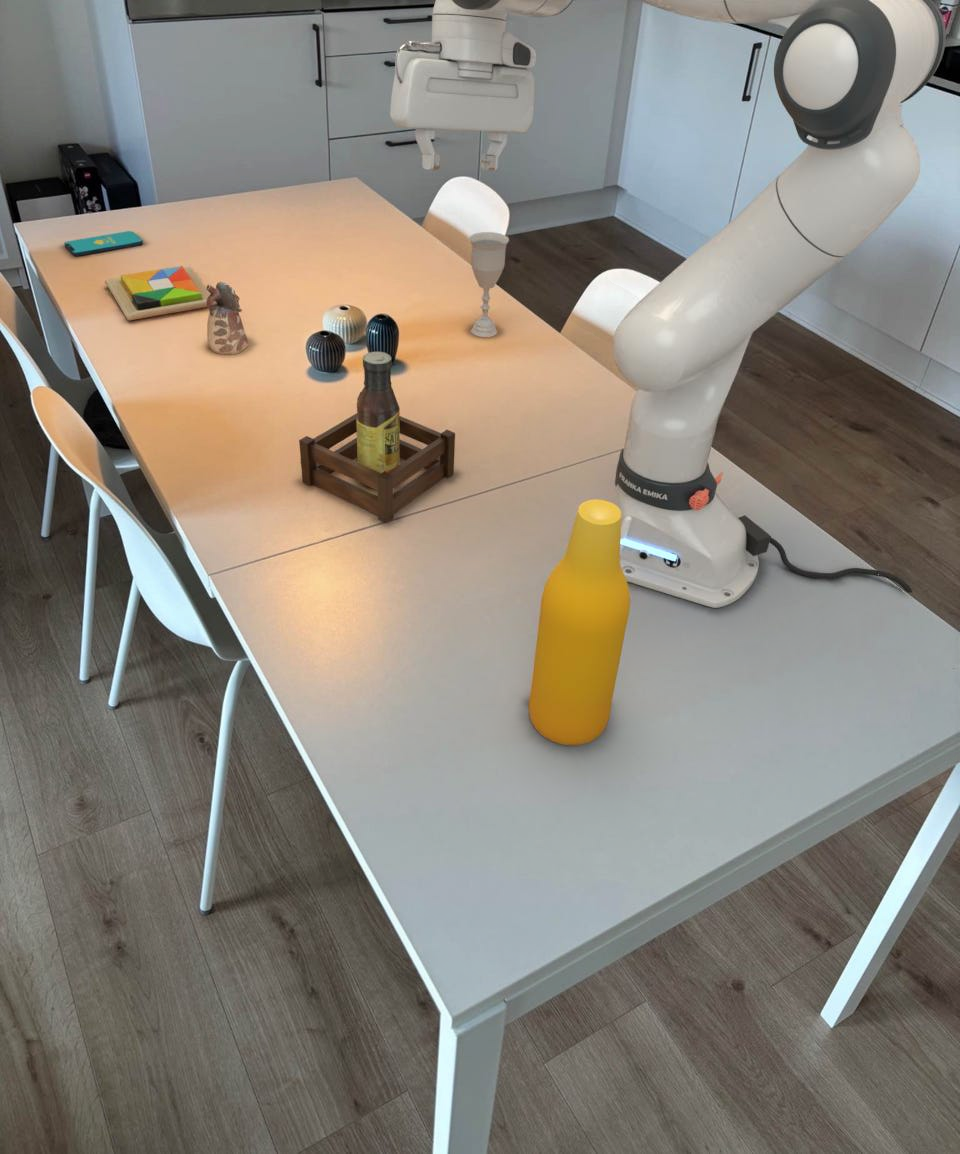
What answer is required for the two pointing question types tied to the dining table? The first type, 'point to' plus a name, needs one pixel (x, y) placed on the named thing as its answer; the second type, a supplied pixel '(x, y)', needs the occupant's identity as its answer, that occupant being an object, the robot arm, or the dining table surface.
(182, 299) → the wooden puzzle
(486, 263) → the chalice
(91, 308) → the dining table surface
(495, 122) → the robot arm
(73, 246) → the smartphone
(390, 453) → the sauce bottle
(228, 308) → the figurine
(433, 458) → the crate
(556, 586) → the beer bottle
